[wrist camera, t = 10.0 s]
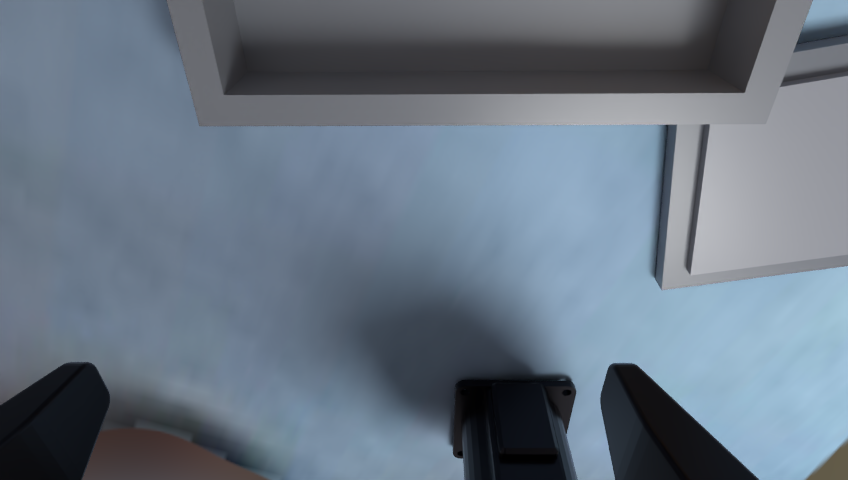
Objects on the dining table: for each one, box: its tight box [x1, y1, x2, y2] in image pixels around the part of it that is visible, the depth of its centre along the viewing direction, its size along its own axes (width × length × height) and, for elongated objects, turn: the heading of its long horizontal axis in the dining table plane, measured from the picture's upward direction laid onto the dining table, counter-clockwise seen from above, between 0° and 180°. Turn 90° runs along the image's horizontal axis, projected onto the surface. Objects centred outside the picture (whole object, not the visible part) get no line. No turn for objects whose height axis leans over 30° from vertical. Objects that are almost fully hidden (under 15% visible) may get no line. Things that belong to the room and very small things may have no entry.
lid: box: [655, 35, 848, 290], centre depth 20 cm, size 10×12×1 cm
